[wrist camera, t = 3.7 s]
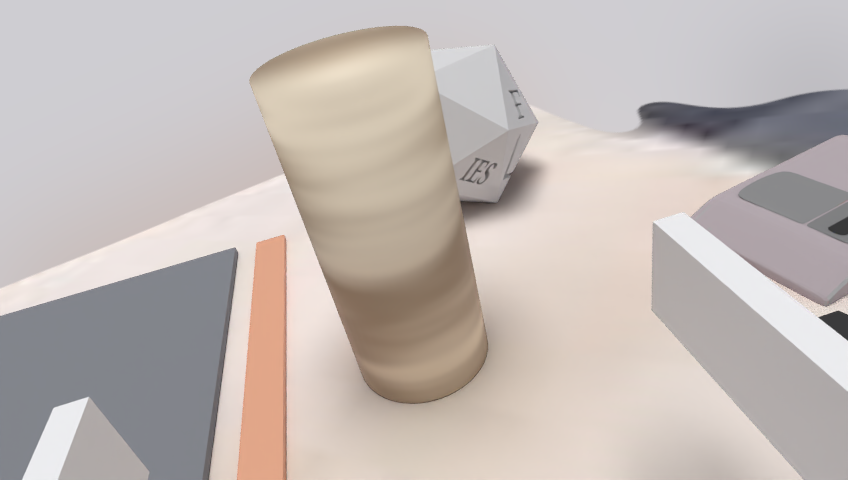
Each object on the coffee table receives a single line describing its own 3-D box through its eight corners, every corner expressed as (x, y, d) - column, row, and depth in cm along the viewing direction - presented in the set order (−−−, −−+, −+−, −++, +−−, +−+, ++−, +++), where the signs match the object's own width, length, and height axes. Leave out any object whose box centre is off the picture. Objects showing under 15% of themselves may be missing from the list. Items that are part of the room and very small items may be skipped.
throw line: (285, 604, 16) (282, 599, 16) (229, 623, 16) (225, 618, 16) (285, 238, 32) (284, 234, 32) (258, 246, 32) (256, 242, 32)
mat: (187, 637, 16) (180, 631, 15) (-340, 812, 15) (-355, 808, 15) (238, 252, 32) (235, 247, 32) (-8, 325, 32) (-13, 319, 31)
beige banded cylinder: (505, 378, 21) (447, 54, 14) (368, 420, 20) (243, 109, 14) (467, 293, 25) (409, 15, 18) (354, 327, 25) (253, 56, 18)
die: (443, 261, 29) (543, 89, 24) (318, 169, 31) (388, -4, 26) (499, 224, 36) (583, 85, 31) (393, 151, 38) (458, 12, 33)
